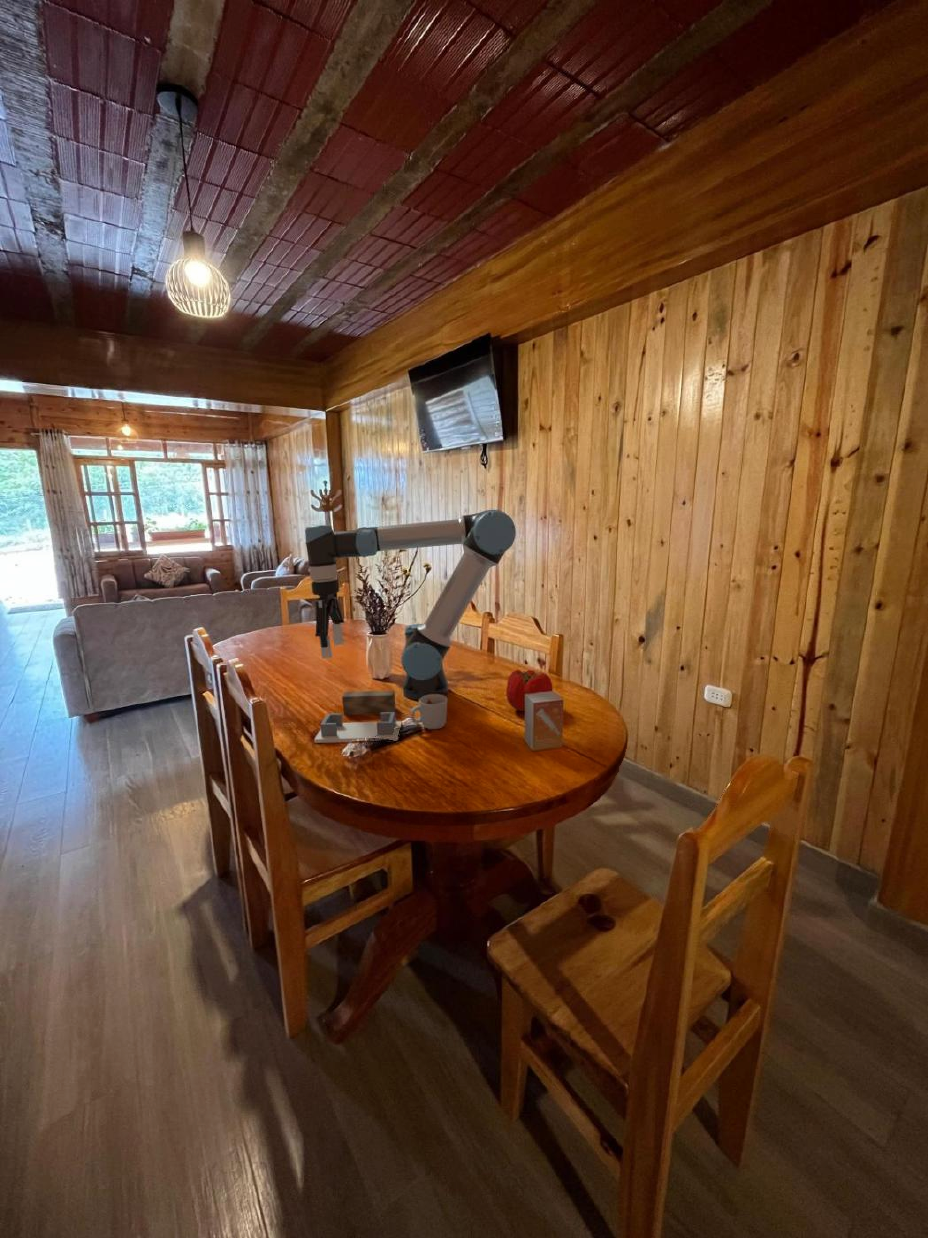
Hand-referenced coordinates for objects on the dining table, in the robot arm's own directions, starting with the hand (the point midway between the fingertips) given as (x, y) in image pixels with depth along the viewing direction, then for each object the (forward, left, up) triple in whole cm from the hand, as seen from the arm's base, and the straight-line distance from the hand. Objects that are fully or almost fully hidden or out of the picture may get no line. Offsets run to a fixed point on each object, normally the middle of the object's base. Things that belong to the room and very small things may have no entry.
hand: (333, 650), depth 149 cm
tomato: (-58, +2, -20) cm, 61 cm away
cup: (-29, +13, -20) cm, 37 cm away
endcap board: (-10, +16, -19) cm, 27 cm away
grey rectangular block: (-10, +1, -20) cm, 22 cm away
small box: (-59, +25, -20) cm, 66 cm away
